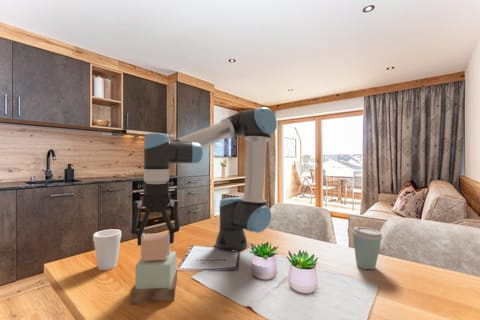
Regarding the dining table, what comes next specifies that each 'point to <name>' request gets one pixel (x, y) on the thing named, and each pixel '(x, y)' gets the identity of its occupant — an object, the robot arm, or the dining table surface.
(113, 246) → the foam cup
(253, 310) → the dining table surface
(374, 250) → the disposable coffee cup
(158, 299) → the walnut base
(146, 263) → the sage brick
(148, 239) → the beige cube
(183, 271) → the dining table surface
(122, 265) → the dining table surface
